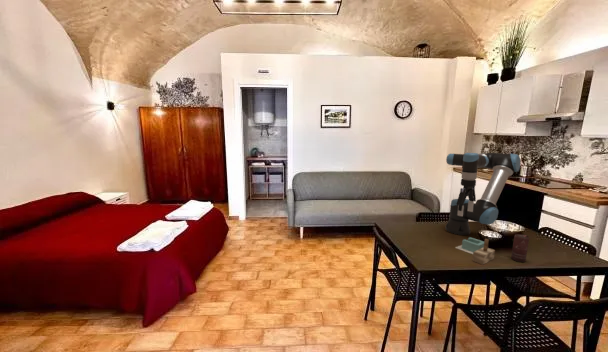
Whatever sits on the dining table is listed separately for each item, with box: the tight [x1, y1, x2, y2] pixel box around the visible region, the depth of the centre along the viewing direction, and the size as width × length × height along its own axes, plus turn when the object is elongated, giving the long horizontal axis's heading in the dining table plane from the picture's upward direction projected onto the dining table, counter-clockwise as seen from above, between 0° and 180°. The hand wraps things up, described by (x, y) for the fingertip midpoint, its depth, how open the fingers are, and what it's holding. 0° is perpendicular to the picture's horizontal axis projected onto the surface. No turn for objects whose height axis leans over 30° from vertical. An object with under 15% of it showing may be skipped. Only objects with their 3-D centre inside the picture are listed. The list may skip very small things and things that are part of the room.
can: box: [511, 233, 530, 263], centre depth 140 cm, size 6×6×14 cm
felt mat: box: [454, 244, 473, 255], centre depth 153 cm, size 14×14×1 cm
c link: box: [461, 236, 485, 252], centre depth 153 cm, size 9×9×5 cm
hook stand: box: [471, 238, 496, 266], centre depth 140 cm, size 13×5×12 cm, turn 123°
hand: (465, 213), depth 157 cm, fingers open, 13 cm apart
